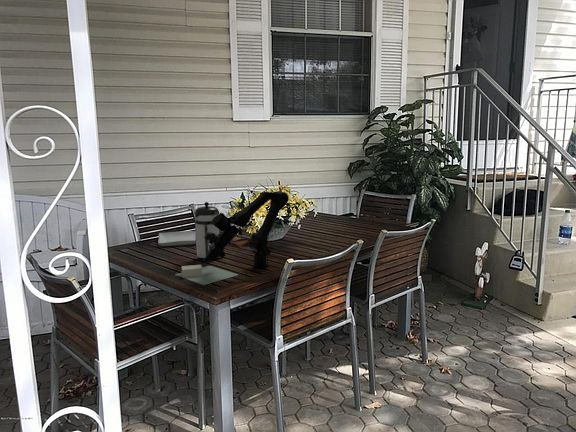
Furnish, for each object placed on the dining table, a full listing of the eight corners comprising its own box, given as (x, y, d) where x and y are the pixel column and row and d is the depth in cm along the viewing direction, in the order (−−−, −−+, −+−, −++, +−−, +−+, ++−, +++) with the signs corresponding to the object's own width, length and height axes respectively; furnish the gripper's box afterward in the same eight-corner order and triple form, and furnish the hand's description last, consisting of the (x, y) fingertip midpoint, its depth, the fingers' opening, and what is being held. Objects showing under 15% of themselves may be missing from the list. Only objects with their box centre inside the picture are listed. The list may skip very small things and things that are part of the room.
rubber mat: (209, 266, 227) (209, 265, 227) (239, 275, 212) (238, 274, 212) (174, 275, 213) (174, 274, 213) (203, 286, 198) (203, 285, 198)
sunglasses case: (221, 242, 277) (225, 232, 279) (229, 246, 282) (233, 236, 284) (240, 247, 265) (244, 236, 266) (248, 251, 270) (252, 241, 271)
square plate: (159, 238, 291) (158, 232, 290) (203, 235, 298) (202, 230, 297) (158, 248, 265) (157, 242, 265) (206, 245, 272) (206, 239, 271)
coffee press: (222, 262, 234) (220, 204, 229) (191, 262, 235) (188, 204, 229) (227, 253, 251) (226, 199, 246) (198, 253, 252) (196, 199, 246)
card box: (201, 264, 216) (181, 266, 214) (202, 268, 211) (182, 269, 208) (201, 271, 217) (181, 273, 214) (202, 275, 211) (182, 277, 209)
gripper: (211, 221, 221) (189, 245, 220) (216, 229, 203) (192, 255, 202) (228, 236, 224) (206, 260, 223) (235, 245, 207) (211, 271, 206)
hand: (204, 261), depth 214 cm, fingers closed
